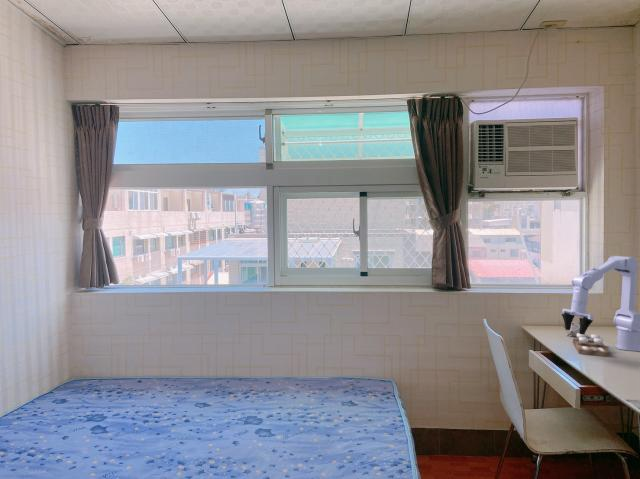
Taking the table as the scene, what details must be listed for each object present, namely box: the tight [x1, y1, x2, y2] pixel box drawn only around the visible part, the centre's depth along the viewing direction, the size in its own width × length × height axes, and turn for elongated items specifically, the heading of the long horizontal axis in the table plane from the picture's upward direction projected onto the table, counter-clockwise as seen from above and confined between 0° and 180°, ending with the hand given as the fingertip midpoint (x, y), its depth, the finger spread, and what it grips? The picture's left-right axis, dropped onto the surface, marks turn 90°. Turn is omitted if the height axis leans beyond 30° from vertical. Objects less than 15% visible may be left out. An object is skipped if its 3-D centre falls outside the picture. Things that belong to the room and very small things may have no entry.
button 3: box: [594, 338, 604, 344], centre depth 204 cm, size 4×4×2 cm
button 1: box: [578, 336, 589, 343], centre depth 206 cm, size 4×4×2 cm
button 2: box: [590, 333, 601, 340], centre depth 210 cm, size 4×4×2 cm
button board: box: [572, 338, 611, 358], centre depth 206 cm, size 12×19×2 cm, turn 157°
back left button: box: [576, 333, 586, 339], centre depth 213 cm, size 4×4×2 cm
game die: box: [563, 321, 580, 337], centre depth 227 cm, size 9×8×10 cm
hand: (574, 332), depth 197 cm, fingers open, 7 cm apart
